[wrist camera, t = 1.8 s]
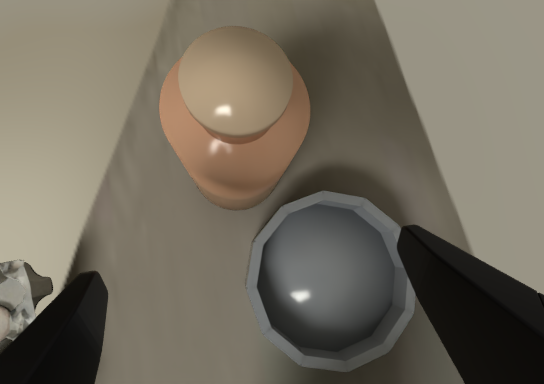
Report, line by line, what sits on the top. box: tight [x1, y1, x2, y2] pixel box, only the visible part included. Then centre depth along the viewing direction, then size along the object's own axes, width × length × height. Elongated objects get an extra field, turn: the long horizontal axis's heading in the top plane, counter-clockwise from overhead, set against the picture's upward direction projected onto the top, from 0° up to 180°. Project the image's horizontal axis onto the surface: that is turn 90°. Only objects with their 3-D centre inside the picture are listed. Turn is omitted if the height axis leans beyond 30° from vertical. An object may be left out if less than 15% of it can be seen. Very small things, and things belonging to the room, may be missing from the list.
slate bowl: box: [245, 191, 416, 372], centre depth 21 cm, size 10×10×2 cm
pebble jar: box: [159, 26, 310, 210], centre depth 17 cm, size 6×6×12 cm
